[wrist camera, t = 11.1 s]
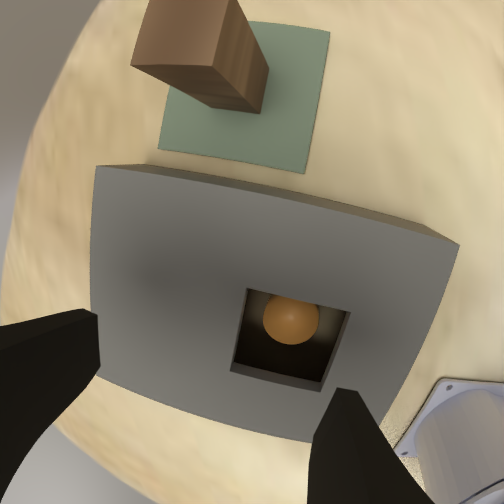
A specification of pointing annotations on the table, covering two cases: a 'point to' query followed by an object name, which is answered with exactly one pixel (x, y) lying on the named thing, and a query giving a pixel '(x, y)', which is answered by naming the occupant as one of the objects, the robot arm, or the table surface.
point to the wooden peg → (203, 52)
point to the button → (290, 319)
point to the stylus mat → (272, 112)
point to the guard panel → (258, 278)
